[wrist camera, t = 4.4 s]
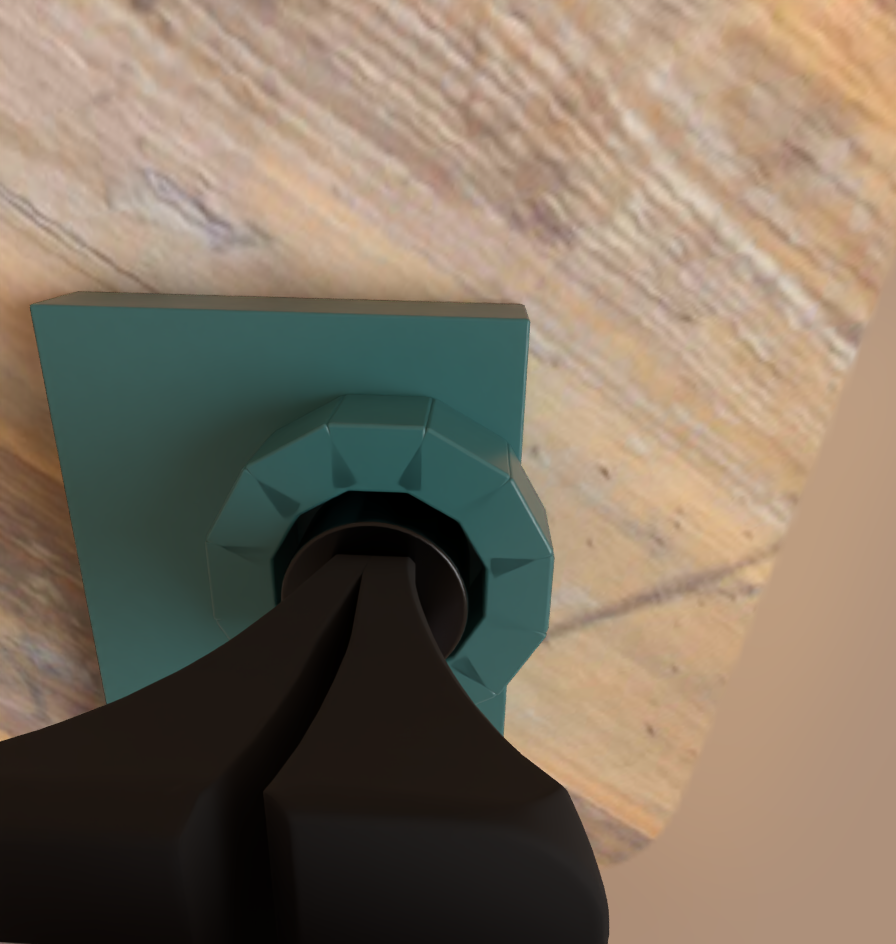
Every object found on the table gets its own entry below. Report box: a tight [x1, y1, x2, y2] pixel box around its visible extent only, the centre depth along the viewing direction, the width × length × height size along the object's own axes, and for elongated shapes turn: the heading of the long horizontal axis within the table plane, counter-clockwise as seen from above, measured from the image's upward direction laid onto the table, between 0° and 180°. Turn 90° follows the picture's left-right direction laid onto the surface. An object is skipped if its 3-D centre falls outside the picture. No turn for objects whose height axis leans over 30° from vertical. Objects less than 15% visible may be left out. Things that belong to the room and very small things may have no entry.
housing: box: [30, 292, 554, 736], centre depth 15 cm, size 12×10×4 cm
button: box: [281, 490, 470, 659], centre depth 13 cm, size 3×3×2 cm
